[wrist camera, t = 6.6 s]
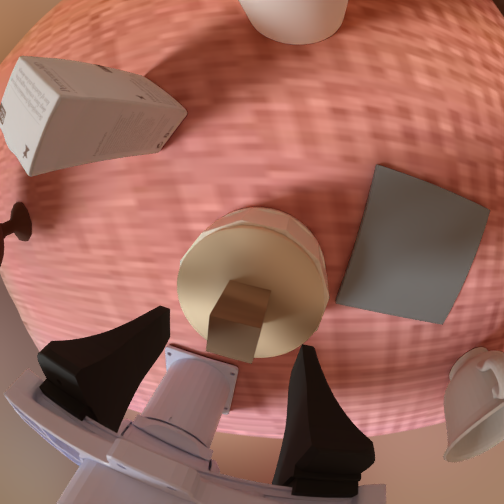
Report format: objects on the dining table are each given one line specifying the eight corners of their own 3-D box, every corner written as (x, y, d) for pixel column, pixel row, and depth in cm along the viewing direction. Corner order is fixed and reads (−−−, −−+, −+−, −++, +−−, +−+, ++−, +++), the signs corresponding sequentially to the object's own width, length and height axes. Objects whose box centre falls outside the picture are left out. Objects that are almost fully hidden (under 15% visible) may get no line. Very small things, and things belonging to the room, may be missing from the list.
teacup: (509, 282, 17) (562, 341, 8) (503, 369, 20) (529, 422, 11) (413, 339, 21) (443, 423, 12) (429, 410, 24) (442, 472, 15)
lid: (301, 362, 19) (296, 410, 15) (180, 330, 20) (154, 369, 16) (343, 245, 15) (354, 283, 11) (186, 210, 16) (147, 233, 12)
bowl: (305, 334, 23) (303, 366, 19) (194, 306, 24) (176, 332, 20) (341, 224, 19) (348, 243, 15) (205, 194, 20) (182, 206, 16)
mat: (440, 321, 20) (442, 324, 19) (335, 300, 21) (335, 303, 21) (487, 208, 15) (490, 210, 15) (376, 164, 17) (378, 164, 16)
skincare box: (191, 110, 18) (65, 90, 7) (158, 156, 19) (29, 183, 8) (141, 73, 17) (21, 47, 6) (113, 116, 19) (-8, 122, 8)
